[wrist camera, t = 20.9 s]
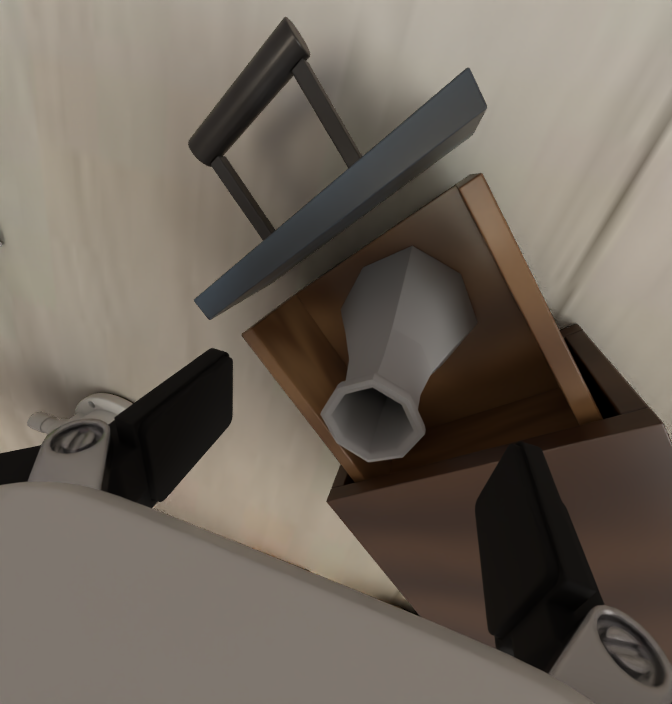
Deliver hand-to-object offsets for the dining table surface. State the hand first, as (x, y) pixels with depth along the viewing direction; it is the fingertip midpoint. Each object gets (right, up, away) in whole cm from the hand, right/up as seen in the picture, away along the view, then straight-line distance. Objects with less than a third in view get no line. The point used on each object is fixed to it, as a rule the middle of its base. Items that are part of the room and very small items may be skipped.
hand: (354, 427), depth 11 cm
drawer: (+3, +7, +8) cm, 11 cm away
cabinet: (+12, -6, +13) cm, 18 cm away
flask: (+4, +5, +8) cm, 10 cm away
